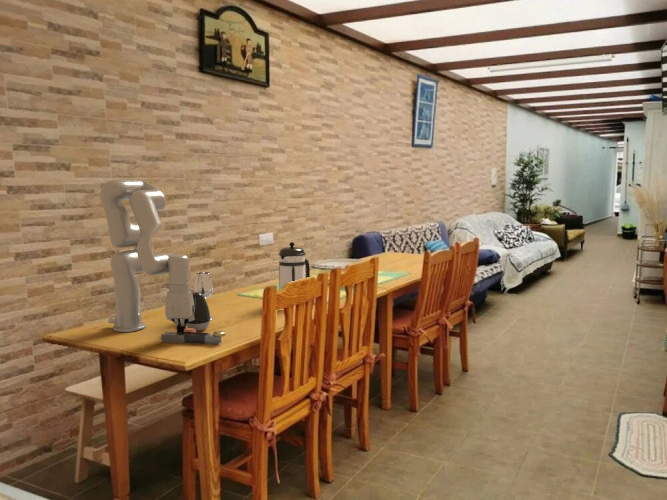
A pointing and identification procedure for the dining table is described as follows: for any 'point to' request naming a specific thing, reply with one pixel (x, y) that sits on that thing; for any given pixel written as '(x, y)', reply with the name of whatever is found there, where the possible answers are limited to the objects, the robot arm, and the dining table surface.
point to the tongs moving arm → (190, 338)
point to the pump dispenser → (200, 313)
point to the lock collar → (189, 330)
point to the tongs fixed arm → (216, 333)
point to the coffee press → (292, 264)
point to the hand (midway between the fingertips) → (181, 335)
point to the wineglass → (204, 285)
